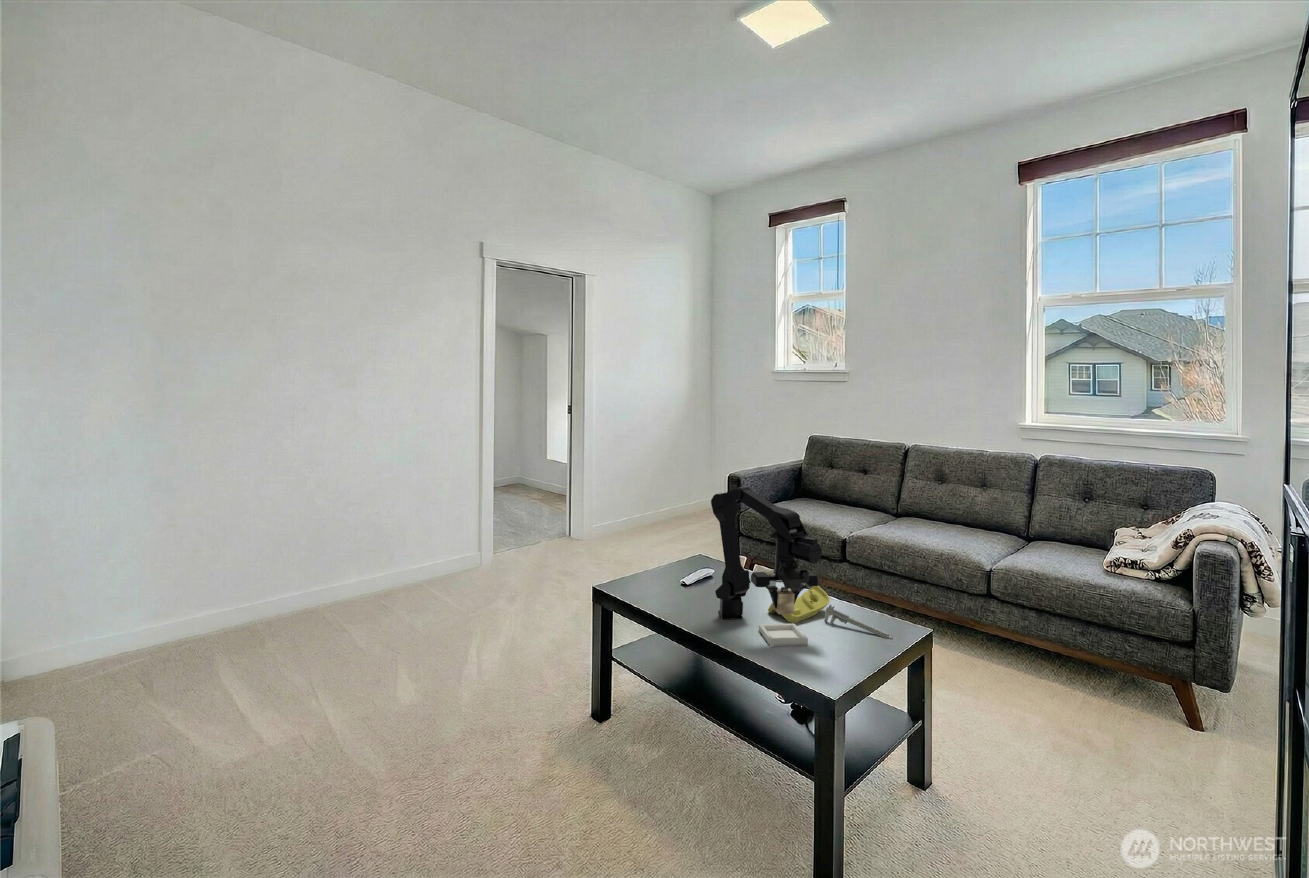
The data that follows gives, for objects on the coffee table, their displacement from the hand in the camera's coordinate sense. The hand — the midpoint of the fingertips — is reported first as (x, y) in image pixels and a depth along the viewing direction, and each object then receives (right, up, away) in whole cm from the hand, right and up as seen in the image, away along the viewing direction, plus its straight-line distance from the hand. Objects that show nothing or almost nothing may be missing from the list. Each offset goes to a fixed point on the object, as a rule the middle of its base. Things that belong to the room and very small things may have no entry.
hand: (783, 607), depth 174 cm
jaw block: (0, -1, 0) cm, 1 cm away
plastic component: (+10, -8, +20) cm, 24 cm away
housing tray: (0, -9, +1) cm, 9 cm away
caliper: (+24, -10, +8) cm, 27 cm away
